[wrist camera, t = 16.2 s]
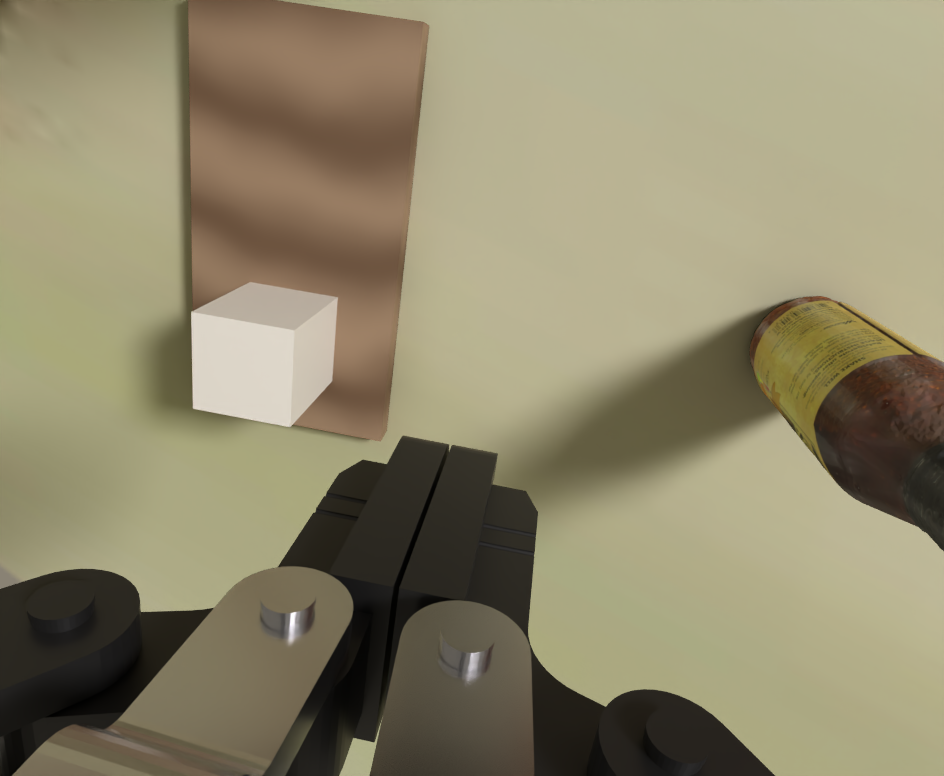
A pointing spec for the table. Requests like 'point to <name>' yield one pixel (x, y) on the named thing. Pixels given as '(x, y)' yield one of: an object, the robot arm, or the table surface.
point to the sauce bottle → (859, 404)
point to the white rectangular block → (263, 352)
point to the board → (308, 175)
